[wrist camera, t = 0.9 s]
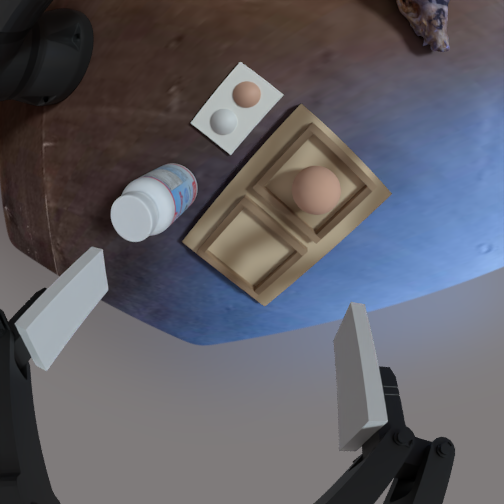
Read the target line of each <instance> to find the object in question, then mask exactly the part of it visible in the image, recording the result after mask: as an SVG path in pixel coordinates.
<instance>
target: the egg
mask: <svg viewBox="0 0 504 504" xmlns="http://www.w3.org/2000/svg"><path fill="white" fill-rule="evenodd" d="M292 195H293V199H294V201H295V203H296V204H297V206H298V207H299V208H300V209H302V210H303V211H304V212H306V213H309V214H313V215H321V214H325V213H327V212H329V211H331V210H332V209H333V208H334V207H335V206H336V205H337V203H338V201H339V199H340V195H341V186H340V183H339V180H338V178H337V177H336V175H335V174H334V173H333V172H332V171H331V170H329V169H327V168H325V167H322V166H310V167H307V168H305V169H303V170H301V171H300V172H299V173H298V174H297V175H296V177H295V179H294V181H293V184H292Z"/></svg>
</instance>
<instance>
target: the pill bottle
mask: <svg viewBox="0 0 504 504" xmlns="http://www.w3.org/2000/svg"><path fill="white" fill-rule="evenodd" d="M196 195H197V182H196V179H195V177H194V175H193V174H192V172H191V171H190V170H188V169H187V168H186V167H184V166H182V165H179V164H175V163H169V164H165V165H163V166H161V167H159V168H157V169H155V170H153V171H151V172H149V173H147V174H145V175H143V176H141V177H139V178H137V179H135V180H134V181H132V182H131V183H129V184H128V185H127V186H126V188H125V189H124V191H123V193H122V195H121V196H120V197H119V198H117V199H116V200H115V202H114V203H113V205H112V208H111V221H112V224H113V226H114V228H115V230H116V231H117V233H118V234H119V235H120V236H121V237H123V238H124V239H126V240H128V241H131V242H139V241H142V240H144V239H146V238H147V237H148V236H149V235H156V234H159V233H161V232H163V231H164V230H165V229H167V228H168V227H169V226H170V225H171V224H172V223H173V222H174V221H175V220H176V219H177V218H178V217H179V216H180V215H181V214H182V213H183V212H184V211H185V210H186V209H187V208H188V207H189V206H190V205H191V204H192V203H193V202H194V200H195V198H196Z"/></svg>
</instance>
